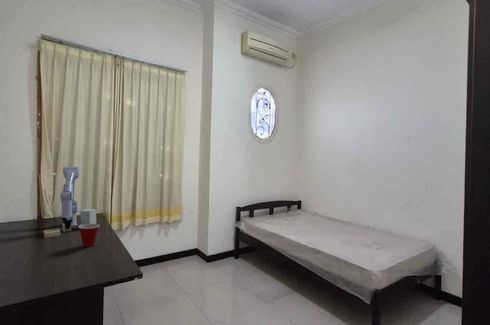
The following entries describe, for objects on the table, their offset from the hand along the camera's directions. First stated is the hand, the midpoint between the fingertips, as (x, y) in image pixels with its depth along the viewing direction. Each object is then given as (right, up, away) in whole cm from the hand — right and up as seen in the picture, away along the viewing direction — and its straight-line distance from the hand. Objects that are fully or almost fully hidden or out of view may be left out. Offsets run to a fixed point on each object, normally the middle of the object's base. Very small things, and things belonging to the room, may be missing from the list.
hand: (66, 228), depth 176 cm
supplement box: (+10, -2, +9) cm, 13 cm away
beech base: (-2, -2, -11) cm, 11 cm away
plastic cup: (+34, -3, -29) cm, 44 cm away
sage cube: (0, -1, 0) cm, 1 cm away
